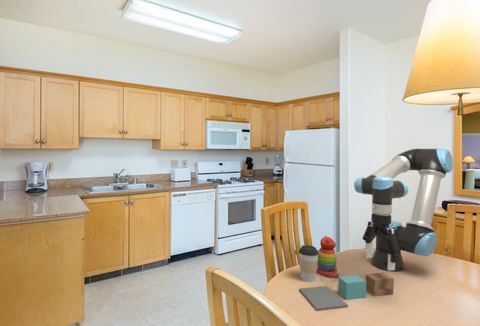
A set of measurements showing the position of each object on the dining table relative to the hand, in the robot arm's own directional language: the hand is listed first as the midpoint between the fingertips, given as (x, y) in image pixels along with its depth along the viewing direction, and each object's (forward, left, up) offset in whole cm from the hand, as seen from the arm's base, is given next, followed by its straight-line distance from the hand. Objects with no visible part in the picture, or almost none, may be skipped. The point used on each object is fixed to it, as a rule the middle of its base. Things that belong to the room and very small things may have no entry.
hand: (379, 263), depth 122 cm
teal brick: (+13, 0, -13) cm, 18 cm away
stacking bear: (+12, -22, -13) cm, 28 cm away
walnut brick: (0, 0, -13) cm, 13 cm away
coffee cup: (+24, -18, -13) cm, 32 cm away
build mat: (+26, 0, -12) cm, 29 cm away
